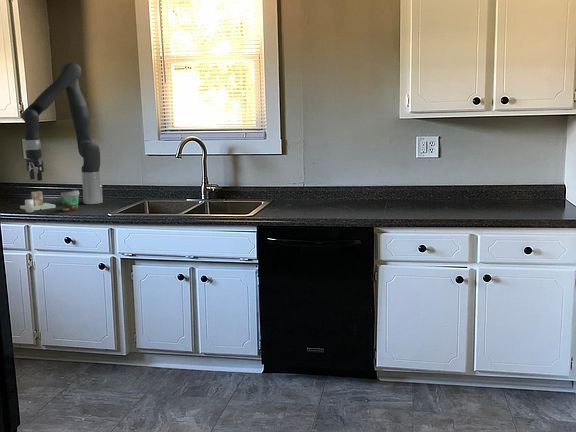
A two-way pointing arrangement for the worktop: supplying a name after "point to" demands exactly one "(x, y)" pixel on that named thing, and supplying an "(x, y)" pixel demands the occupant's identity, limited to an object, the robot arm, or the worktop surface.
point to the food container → (70, 200)
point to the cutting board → (44, 206)
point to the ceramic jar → (29, 205)
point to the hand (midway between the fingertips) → (36, 179)
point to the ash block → (37, 198)
